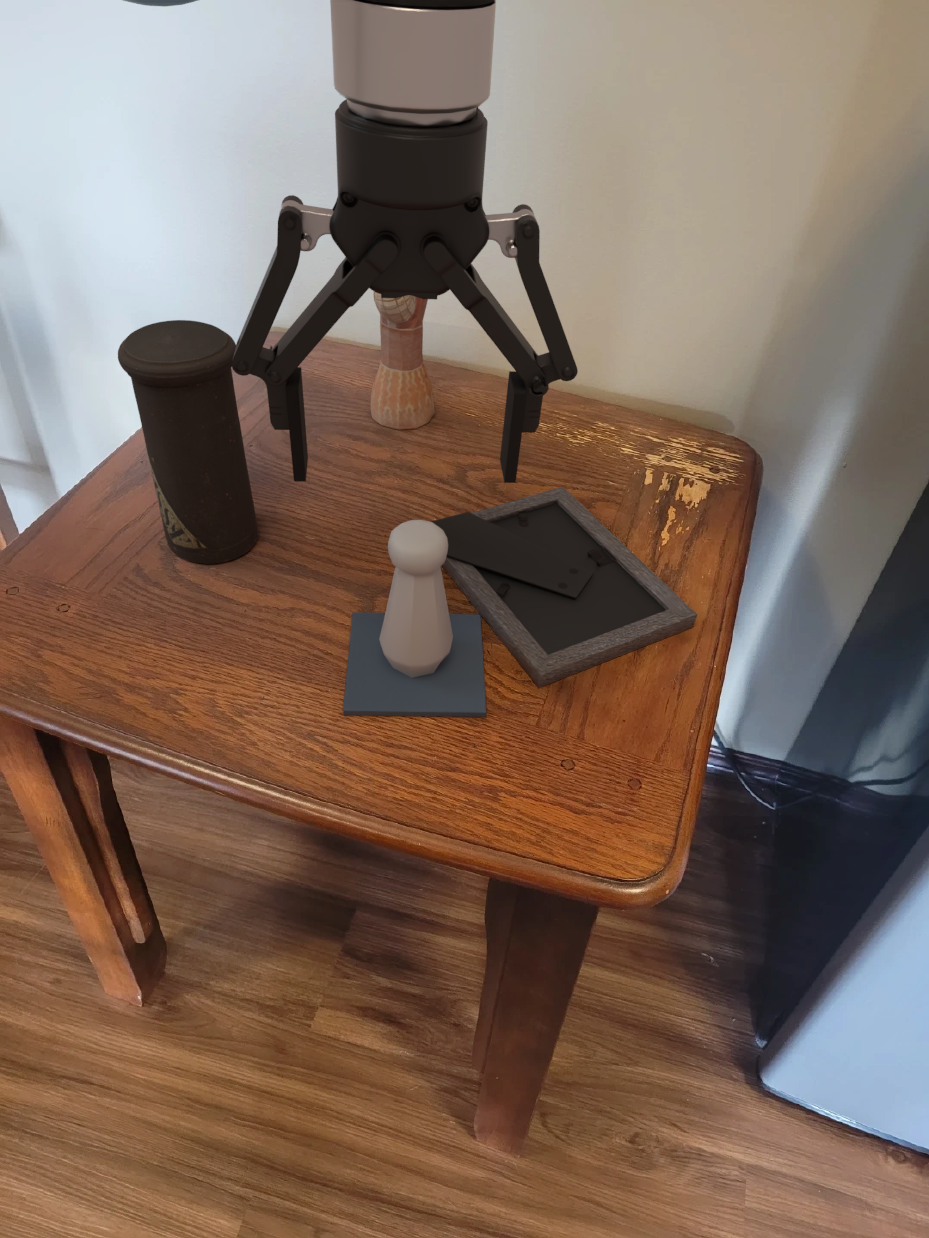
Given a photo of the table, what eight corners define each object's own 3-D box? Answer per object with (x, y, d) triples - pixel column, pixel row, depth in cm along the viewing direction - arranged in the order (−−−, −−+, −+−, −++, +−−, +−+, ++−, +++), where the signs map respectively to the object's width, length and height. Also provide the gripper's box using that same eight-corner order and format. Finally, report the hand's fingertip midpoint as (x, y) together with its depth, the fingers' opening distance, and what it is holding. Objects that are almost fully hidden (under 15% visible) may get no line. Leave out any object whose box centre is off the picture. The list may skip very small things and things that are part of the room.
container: (184, 505, 83) (141, 306, 70) (274, 516, 83) (248, 317, 69) (148, 560, 77) (93, 353, 63) (245, 572, 76) (210, 367, 63)
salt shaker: (424, 696, 66) (427, 569, 57) (365, 665, 68) (360, 538, 59) (464, 652, 70) (474, 526, 61) (408, 624, 72) (409, 498, 63)
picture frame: (421, 540, 81) (538, 688, 68) (421, 523, 80) (541, 671, 67) (560, 499, 87) (693, 627, 74) (563, 482, 86) (698, 610, 73)
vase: (391, 438, 94) (388, 136, 73) (353, 411, 98) (339, 116, 77) (463, 410, 99) (480, 120, 78) (424, 385, 103) (430, 102, 82)
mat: (343, 715, 65) (342, 710, 65) (352, 616, 73) (352, 611, 73) (486, 717, 66) (486, 712, 65) (480, 619, 74) (480, 614, 73)
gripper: (643, 97, 45) (580, 441, 60) (162, 72, 43) (219, 437, 57) (680, 137, 40) (601, 504, 55) (132, 110, 37) (203, 503, 52)
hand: (405, 471), depth 56 cm, fingers open, 13 cm apart
